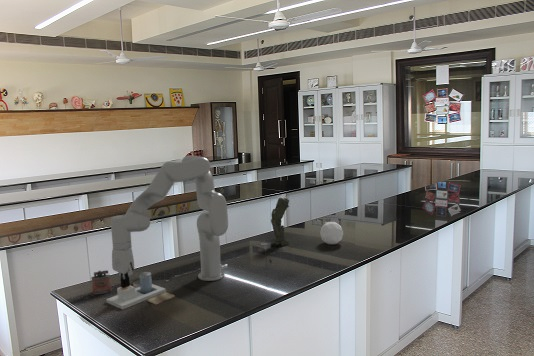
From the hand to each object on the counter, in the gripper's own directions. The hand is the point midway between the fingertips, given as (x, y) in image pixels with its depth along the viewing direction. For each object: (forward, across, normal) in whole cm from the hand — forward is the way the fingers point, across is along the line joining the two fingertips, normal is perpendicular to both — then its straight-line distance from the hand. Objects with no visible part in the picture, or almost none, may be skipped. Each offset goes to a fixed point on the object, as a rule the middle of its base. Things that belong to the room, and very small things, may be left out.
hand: (125, 286), depth 192 cm
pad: (+6, +10, +10) cm, 16 cm away
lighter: (+7, -18, -1) cm, 19 cm away
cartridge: (+6, 0, +10) cm, 12 cm away
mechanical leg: (+6, +5, +101) cm, 102 cm away
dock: (+7, 0, +5) cm, 8 cm away
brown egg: (+5, 0, 0) cm, 5 cm away
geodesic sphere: (+6, +29, +119) cm, 123 cm away
